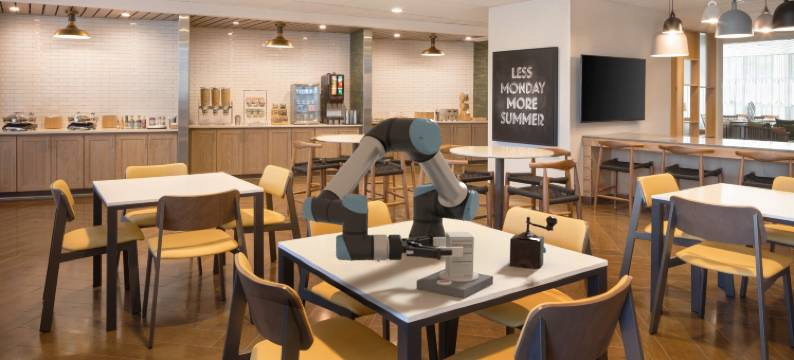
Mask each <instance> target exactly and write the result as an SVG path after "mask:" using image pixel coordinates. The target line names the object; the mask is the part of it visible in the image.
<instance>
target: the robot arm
mask: <svg viewBox="0 0 794 360" xmlns="http://www.w3.org/2000/svg"><path fill="white" fill-rule="evenodd" d="M442 140H443V136H442V131H441V128H440V125H439V123H437V122H436V121H435V120H433V119H431V118H426V117H390V118H386V119H383V120H382V121H379V122H378V123H377V124H375V125H373V126H372V127H371V128H370V129H369V130H367V132H366V133H365V134H364V135H363V136H362V137H361V138H360V139H359V145H358V146H357V148H356V149H355V150H354V152H353V153H352V154H351V155H350V157H348V158H347V160H346V161H345V162H344V164H343V165H342V166H341V167H340V168H339V170H338V171H337V172H336V173H335V175H333V177H332V178H331V179H330V181H329V182H328V183H327V184H326V186H325V187H324V188H323V189H322V191H321V192H320V193H319V194H318V195H317V196H315V195H313V196H309V197H307V198H305V200H304V201H303V203H302V207H301V210H302V211H301V212H302V214H303V217H304V218H305V219H306V220H308V221H311V222H316V223H325V224H330V225H331V224H332V225H337V226H341V229H342V231H341V232H342V233H341V234H338V235H336V237H335V256H336V259H338V260H339V261H351V262H353V261H355V262H356V261H376V262H377V263H379V262H380V261H386V260H387V259H389V260H390V261H400V260H401V259H402V256H403V254H405V256H406V257H409V258H410V257H411V258H412V257H415V258H423V259H424V258H426V259H434V260H437V261H441V258H446V257H463V247H446V230H445V227H444V224H443V219H447V220H449V219H450V220H457V221H463V222H470V221H471V222H472V221H474V219H475V218H476V216H477V213H478V211H479V206H480V196H479V193H478V191H476V190H473V189H471V190H469V188H468V187H467V185H466V184H465V183H464V182H462V181H461V180H458V179H457V176H455V174H454V172H453V170H452V168H451V167H450V165H449V164H448V162H447V160H446V159H445V156H444V155H443V153H442V152H441V151H440V149H441V146H442ZM392 152H393V153H403V154H404V153H405V154H406V155H407V156H408V158H409V159H410V160H411V161H412V162H413V163H415V164H418V165H419V166H420V168H421V169H422V171H423V172H424V174H425V176H426V177H427V178H428V180H429V181H430V183H429V184H427V183H426V184H422V185H416V186H415V187H414V188H413V194H412V195H413V196H412V205H413V206H412V208H413V209H412V225H411V228H410V231H409V235H408V237H407V238H405V237H403V238H402V235H401V234H389V235H388V236H387V234H386V233H385V234H369V233H368V232H369V205H368V203H369V201H368V200H369V199H368V197H367V196H366V195H365V194H359V193H357V194H356V193H352V192H353V191H354V190H355V189H356V187H357V186H358V185H359V183H360V182H361V181H362V180H363V178H364V177H365V176H366V175H367V173H368V172H369V171H370V170H371V168H372V167H373V166H374V165H375V163H376V162H377V161H378V160H381V159H383V158H384V157H385V155H386V154H388V153H392Z"/></svg>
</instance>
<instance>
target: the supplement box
mask: <svg viewBox="0 0 794 360" xmlns="http://www.w3.org/2000/svg"><path fill="white" fill-rule="evenodd" d="M445 233H446V246H445V247H463V257H445V259H444V260H445V262H444V264H445V268H444V269H445V272H446V273H447V274H448V276H449V278H473V272H474V246H475V245H474V244H475V243H474V241H475V237H474V236H473V234H472V233H470V232H469V231H445Z"/></svg>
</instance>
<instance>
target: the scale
mask: <svg viewBox="0 0 794 360" xmlns="http://www.w3.org/2000/svg"><path fill="white" fill-rule="evenodd" d="M493 284H494V276H493V275H489V274H482V273H479V272H474V271H473V278H449V276H448V274H447V273H446V272H445V268H444V269H442V270H439V271H437V272H434V273H432V274H430V275H427V276H425V277H422V278H420V279H416V289H419V290H424V291H428V292H432V293H438V294H442V295H448V296H452V297H457V298H461V299H465V298H467V297H469V296H471V295H473V294H475V293H477V292H479V291H482V290H483V289H485V288H487V287H489V286H492V285H493Z"/></svg>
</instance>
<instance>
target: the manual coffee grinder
mask: <svg viewBox="0 0 794 360" xmlns="http://www.w3.org/2000/svg"><path fill="white" fill-rule="evenodd" d="M525 219H526V221H525V223H526V228H525V229H526V230H525V231H523V232H520V233H515V234H514V235H513V236H512V237H511V238H510V243H509V264H508V265H509V267H513V268H514V267H516V268H522V269H523V268H524V269H526V268H527V269H538V270H539V269H541V268H542V267H543V266H544V254H545V252H544V247H545V236H543V235H542V236H541V235H537V234H535V233H534V232H532V231H530V225H531V226H533V227H537V228H540V229H544V230H546V231H547V232H549V231H551V232H553V231H554V228H555V226H556V225H557V224H558V219H557V218H556V217H555V216H552V215H549V216H547V217H546V219H545V222H546V225H545V226H544V225H542V224H538V223H533V222H531V216H527V217H526V218H525Z"/></svg>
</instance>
